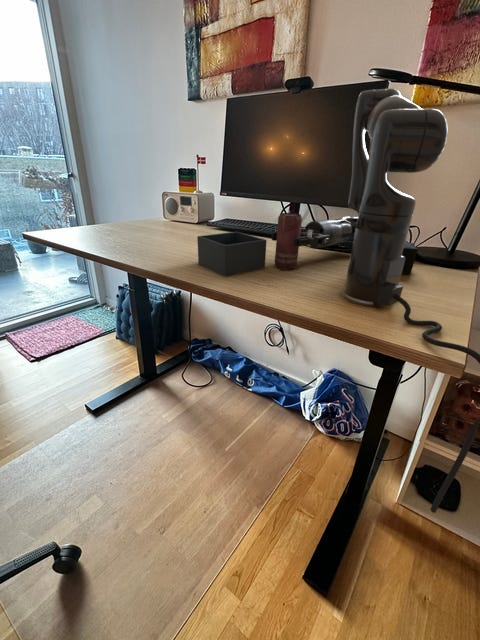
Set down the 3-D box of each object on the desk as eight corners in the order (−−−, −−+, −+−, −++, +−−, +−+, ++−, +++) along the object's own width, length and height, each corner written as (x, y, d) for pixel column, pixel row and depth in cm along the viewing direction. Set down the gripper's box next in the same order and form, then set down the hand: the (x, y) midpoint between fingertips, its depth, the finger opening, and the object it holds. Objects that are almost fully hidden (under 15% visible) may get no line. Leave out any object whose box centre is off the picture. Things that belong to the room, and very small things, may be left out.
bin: (264, 267, 82) (266, 239, 78) (225, 276, 74) (225, 245, 71) (236, 257, 91) (236, 231, 88) (198, 263, 84) (197, 236, 80)
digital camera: (415, 275, 79) (423, 249, 76) (393, 273, 80) (400, 247, 77) (404, 264, 88) (411, 240, 85) (384, 263, 89) (390, 239, 86)
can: (270, 268, 82) (274, 214, 75) (279, 262, 87) (283, 211, 80) (291, 271, 79) (297, 216, 73) (299, 265, 84) (305, 213, 78)
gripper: (306, 217, 91) (266, 220, 82) (346, 223, 81) (305, 229, 72) (303, 241, 94) (264, 248, 85) (341, 251, 84) (302, 259, 75)
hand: (283, 239), depth 79 cm, fingers open, 8 cm apart
